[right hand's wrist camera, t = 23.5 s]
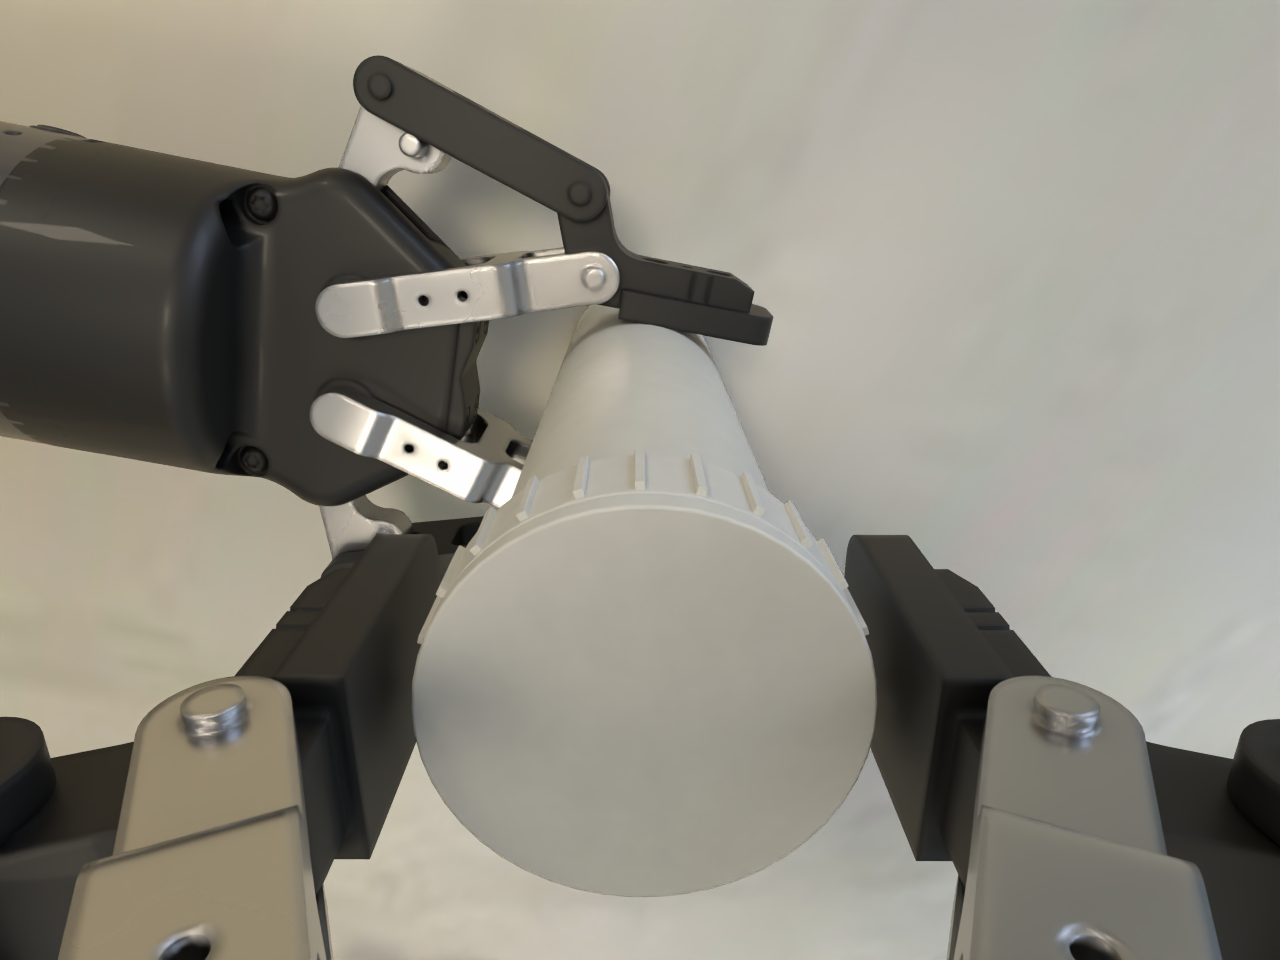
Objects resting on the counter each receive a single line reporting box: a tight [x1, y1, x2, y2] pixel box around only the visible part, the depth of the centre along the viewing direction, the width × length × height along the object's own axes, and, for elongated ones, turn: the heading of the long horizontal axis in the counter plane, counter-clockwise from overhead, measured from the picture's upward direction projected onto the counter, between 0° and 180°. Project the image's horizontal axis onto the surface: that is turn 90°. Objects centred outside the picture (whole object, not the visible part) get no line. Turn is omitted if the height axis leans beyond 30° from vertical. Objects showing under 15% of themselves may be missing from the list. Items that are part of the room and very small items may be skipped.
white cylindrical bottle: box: [511, 304, 769, 498], centre depth 19 cm, size 4×4×19 cm
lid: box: [411, 449, 877, 897], centre depth 10 cm, size 5×5×2 cm
